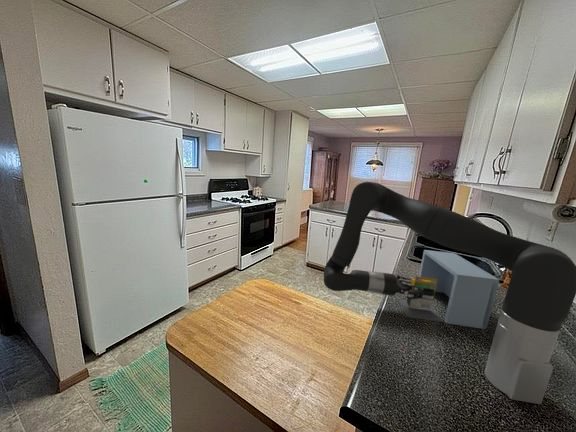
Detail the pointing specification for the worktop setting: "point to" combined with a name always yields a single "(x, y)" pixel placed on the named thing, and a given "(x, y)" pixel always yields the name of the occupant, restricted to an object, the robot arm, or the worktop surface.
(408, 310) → the mat
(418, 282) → the crayon box
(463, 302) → the cubby
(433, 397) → the worktop surface
